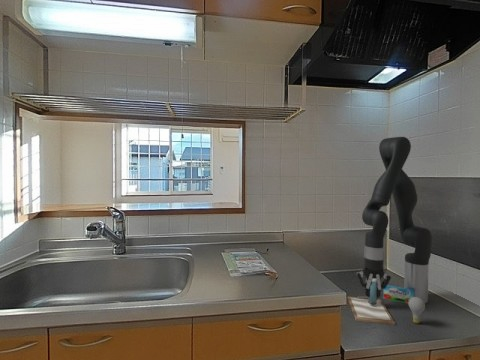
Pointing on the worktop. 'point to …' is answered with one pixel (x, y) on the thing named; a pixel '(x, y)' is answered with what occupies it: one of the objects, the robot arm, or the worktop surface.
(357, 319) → the clipboard
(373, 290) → the bottle
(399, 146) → the robot arm
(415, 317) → the light bulb
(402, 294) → the yogurt
